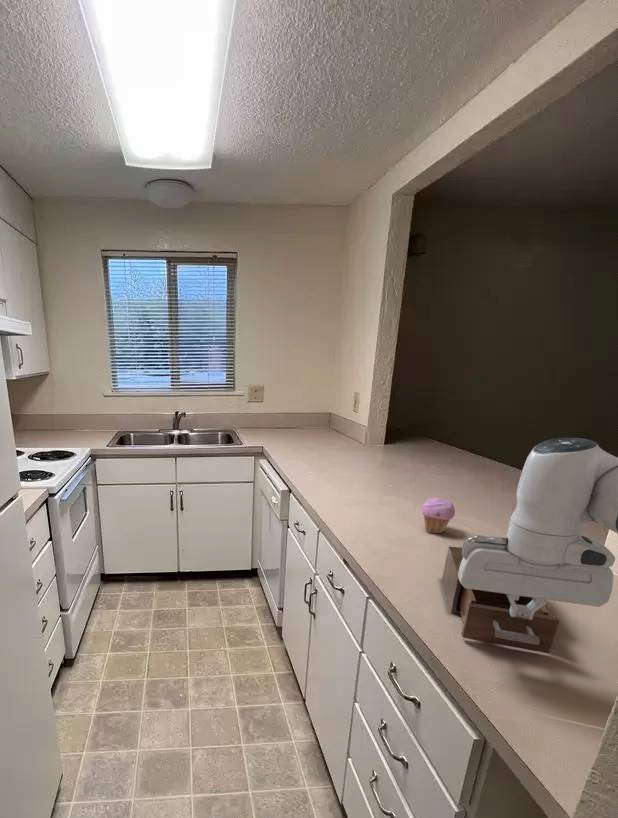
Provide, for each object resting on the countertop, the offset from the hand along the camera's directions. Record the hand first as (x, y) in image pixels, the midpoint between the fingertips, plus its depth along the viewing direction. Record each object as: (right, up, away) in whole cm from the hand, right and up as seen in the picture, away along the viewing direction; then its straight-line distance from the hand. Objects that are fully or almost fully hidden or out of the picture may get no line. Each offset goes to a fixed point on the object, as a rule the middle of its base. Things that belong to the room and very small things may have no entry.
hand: (520, 616), depth 73 cm
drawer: (+2, -5, +8) cm, 10 cm away
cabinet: (+6, -2, +20) cm, 21 cm away
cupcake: (+14, +11, +55) cm, 58 cm away
